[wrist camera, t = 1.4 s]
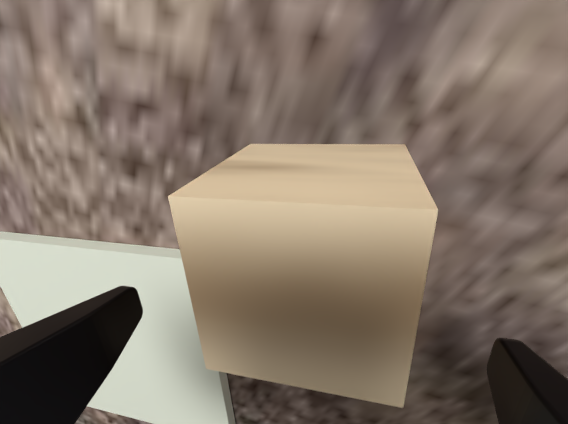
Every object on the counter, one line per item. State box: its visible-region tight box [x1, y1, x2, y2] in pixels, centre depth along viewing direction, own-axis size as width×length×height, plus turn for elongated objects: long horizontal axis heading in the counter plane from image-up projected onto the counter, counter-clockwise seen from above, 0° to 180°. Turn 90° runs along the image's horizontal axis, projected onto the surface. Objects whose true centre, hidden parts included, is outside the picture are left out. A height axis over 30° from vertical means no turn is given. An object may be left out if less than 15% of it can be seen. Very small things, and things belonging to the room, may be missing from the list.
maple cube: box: [168, 144, 438, 408], centre depth 11 cm, size 6×6×6 cm
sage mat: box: [0, 231, 236, 424], centre depth 20 cm, size 15×15×1 cm
